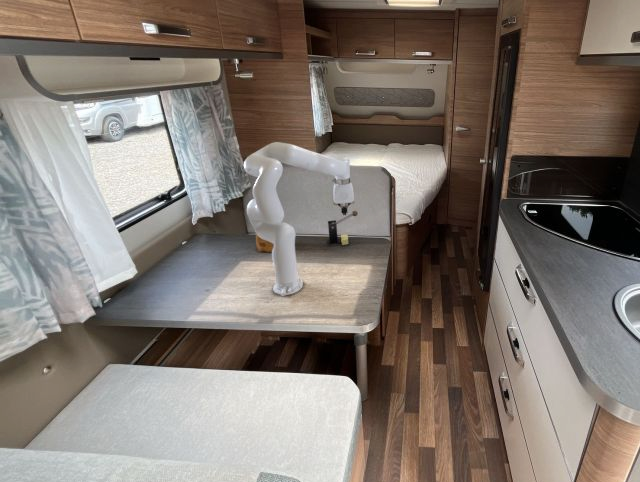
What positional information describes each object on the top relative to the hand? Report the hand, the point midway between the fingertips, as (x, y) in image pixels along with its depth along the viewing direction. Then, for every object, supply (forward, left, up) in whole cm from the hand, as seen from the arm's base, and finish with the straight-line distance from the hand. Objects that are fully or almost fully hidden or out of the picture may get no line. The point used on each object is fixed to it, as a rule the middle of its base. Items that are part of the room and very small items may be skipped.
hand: (344, 214), depth 176 cm
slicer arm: (+10, -1, -9) cm, 13 cm away
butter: (+8, 0, -21) cm, 23 cm away
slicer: (+10, +6, -21) cm, 24 cm away
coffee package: (+12, +40, -22) cm, 47 cm away
